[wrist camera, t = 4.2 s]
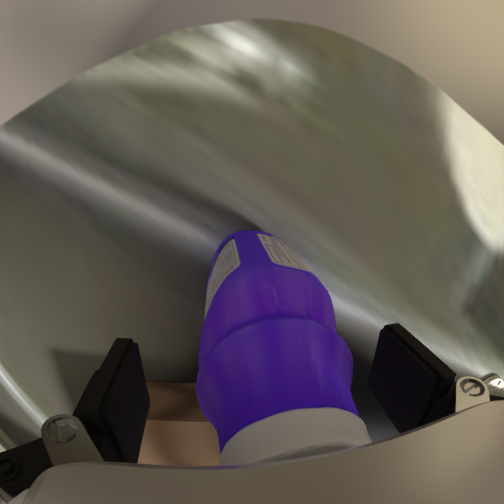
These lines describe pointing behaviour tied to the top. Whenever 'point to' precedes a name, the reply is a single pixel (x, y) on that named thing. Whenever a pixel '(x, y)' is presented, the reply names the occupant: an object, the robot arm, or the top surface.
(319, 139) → the top surface
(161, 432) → the plinth
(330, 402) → the bottle
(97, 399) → the robot arm
